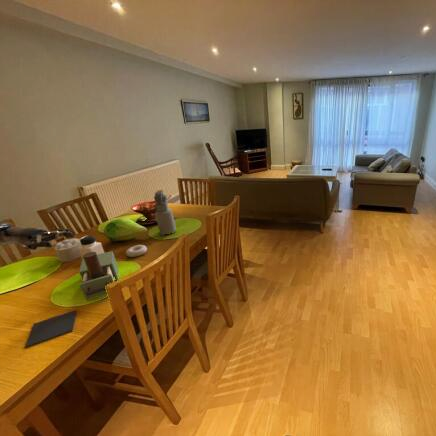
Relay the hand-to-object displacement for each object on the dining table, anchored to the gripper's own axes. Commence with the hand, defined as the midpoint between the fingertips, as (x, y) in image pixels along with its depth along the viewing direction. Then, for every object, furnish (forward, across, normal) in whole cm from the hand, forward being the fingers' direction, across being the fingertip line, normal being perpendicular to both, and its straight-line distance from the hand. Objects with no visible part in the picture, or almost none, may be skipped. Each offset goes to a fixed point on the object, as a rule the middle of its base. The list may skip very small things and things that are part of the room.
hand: (61, 239), depth 98 cm
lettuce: (-17, +45, +24) cm, 54 cm away
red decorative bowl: (-22, +75, +24) cm, 82 cm away
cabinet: (+4, +7, +24) cm, 25 cm away
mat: (+12, -21, +24) cm, 34 cm away
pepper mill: (+11, 0, +22) cm, 25 cm away
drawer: (+12, -1, +23) cm, 26 cm away
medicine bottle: (-19, +23, +24) cm, 38 cm away
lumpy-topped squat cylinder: (-32, +22, +24) cm, 45 cm away
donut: (+2, +30, +24) cm, 39 cm away
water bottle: (+2, +58, +24) cm, 62 cm away
